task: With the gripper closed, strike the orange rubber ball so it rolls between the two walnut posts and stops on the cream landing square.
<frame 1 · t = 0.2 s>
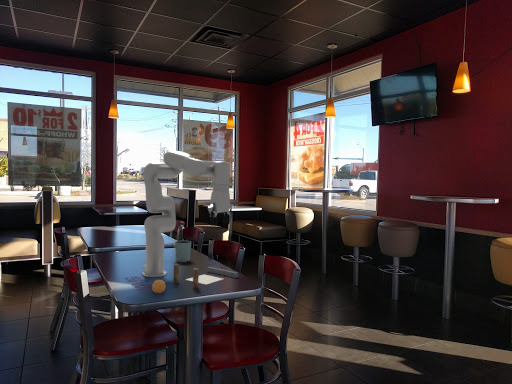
hand: (220, 224, 180), 31 cm above the table, tool pointing down, fingers open, 9 cm apart
signage: (141, 284, 189), on the table
right post: (195, 287, 184), on the table
pale green bucket: (182, 260, 243), on the table
ball: (158, 286, 174), on the table
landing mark: (204, 279, 200), on the table
left post: (176, 282, 192), on the table
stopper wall: (222, 274, 211), on the table
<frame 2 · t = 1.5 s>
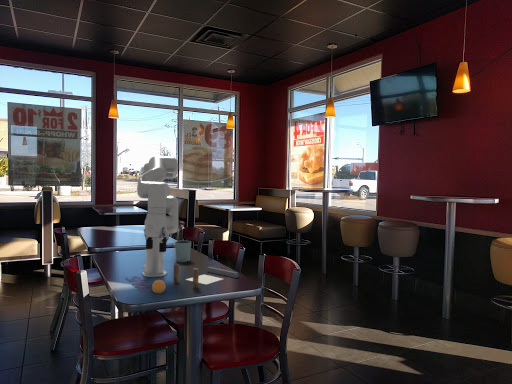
hand: (155, 250, 167), 20 cm above the table, tool pointing down, fingers open, 9 cm apart
nothing on the table moved.
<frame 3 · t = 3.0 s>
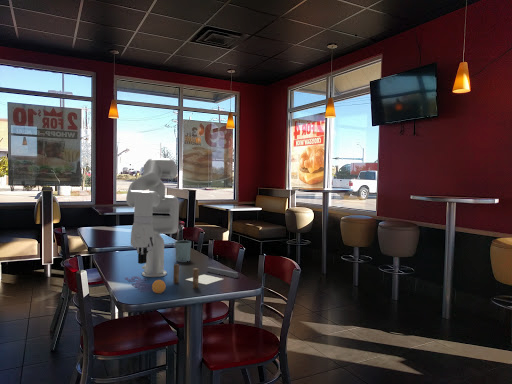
hand: (142, 263, 165), 15 cm above the table, tool pointing down, fingers closed
nothing on the table moved.
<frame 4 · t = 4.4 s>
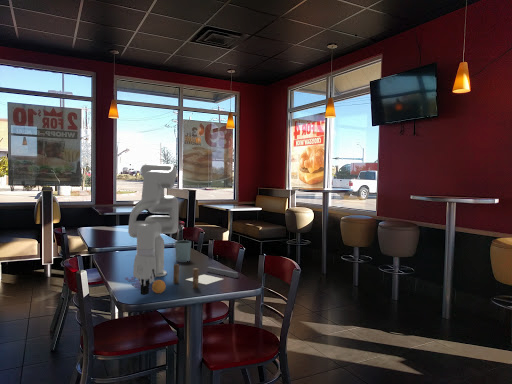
hand: (144, 294, 167), 1 cm above the table, tool pointing down, fingers closed
nothing on the table moved.
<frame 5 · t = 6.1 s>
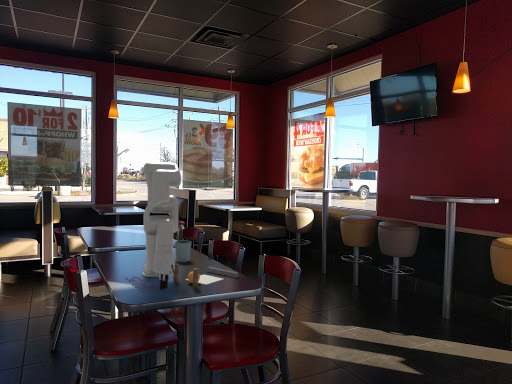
hand: (163, 288, 176), 2 cm above the table, tool pointing down, fingers closed
ball: (193, 277, 192), on the table
everything else where it was.
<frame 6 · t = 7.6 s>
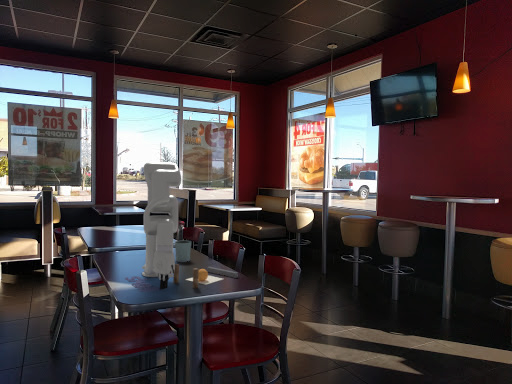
hand: (163, 288, 176), 2 cm above the table, tool pointing down, fingers closed
ball: (202, 274, 197), on the table
everything else where it was.
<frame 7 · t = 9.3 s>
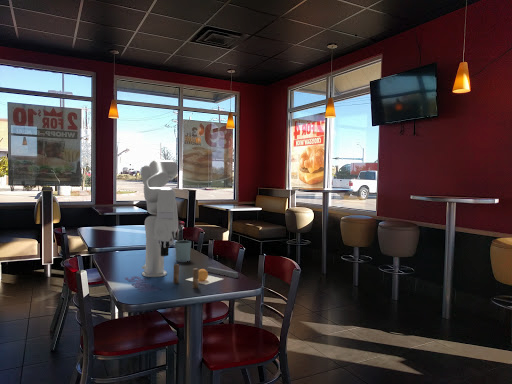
hand: (164, 255, 176), 16 cm above the table, tool pointing down, fingers closed
nothing on the table moved.
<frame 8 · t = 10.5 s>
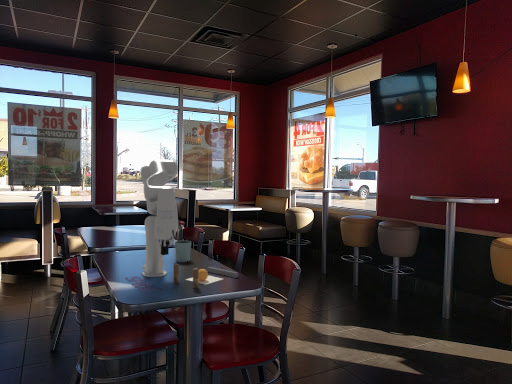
hand: (164, 254, 176), 17 cm above the table, tool pointing down, fingers closed
nothing on the table moved.
at the end: ball 2.8 cm from the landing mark (horizontally); ball never touched left post; ball never touched right post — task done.
